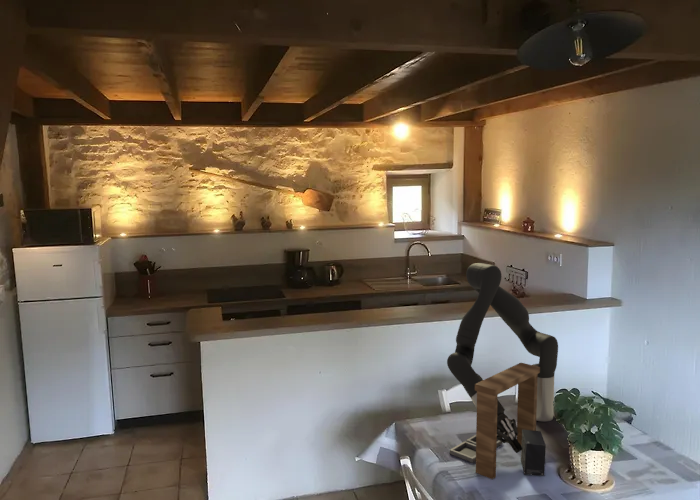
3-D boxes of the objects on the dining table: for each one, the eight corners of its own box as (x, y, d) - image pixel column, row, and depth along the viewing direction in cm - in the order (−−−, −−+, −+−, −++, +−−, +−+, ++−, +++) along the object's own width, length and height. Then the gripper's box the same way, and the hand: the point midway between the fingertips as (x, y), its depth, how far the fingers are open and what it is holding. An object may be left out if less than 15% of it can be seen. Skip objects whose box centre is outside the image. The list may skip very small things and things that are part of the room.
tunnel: (518, 442, 196) (520, 362, 193) (537, 448, 191) (539, 367, 188) (473, 472, 176) (474, 384, 172) (493, 480, 171) (494, 389, 168)
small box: (545, 477, 173) (546, 445, 171) (524, 475, 174) (524, 443, 173) (540, 460, 183) (541, 430, 182) (520, 459, 184) (521, 428, 183)
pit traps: (480, 435, 201) (480, 431, 201) (502, 443, 195) (502, 439, 195) (449, 454, 188) (449, 449, 188) (472, 463, 182) (472, 458, 182)
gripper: (483, 404, 180) (517, 453, 173) (505, 393, 189) (537, 439, 182) (469, 415, 184) (501, 463, 177) (491, 404, 194) (522, 449, 186)
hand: (519, 451), depth 179 cm, fingers closed
